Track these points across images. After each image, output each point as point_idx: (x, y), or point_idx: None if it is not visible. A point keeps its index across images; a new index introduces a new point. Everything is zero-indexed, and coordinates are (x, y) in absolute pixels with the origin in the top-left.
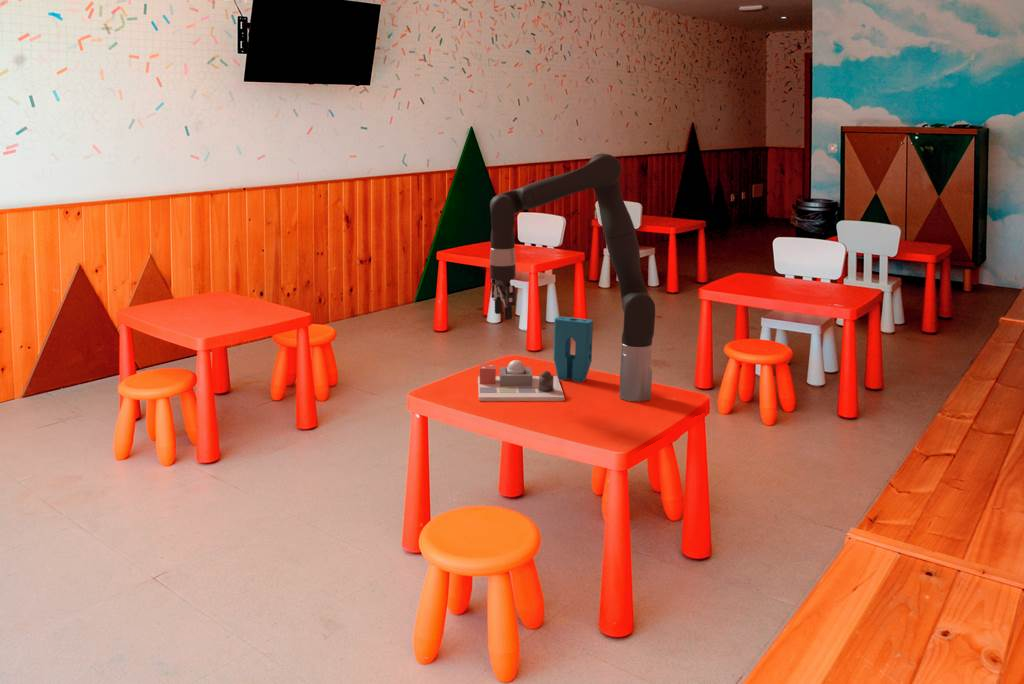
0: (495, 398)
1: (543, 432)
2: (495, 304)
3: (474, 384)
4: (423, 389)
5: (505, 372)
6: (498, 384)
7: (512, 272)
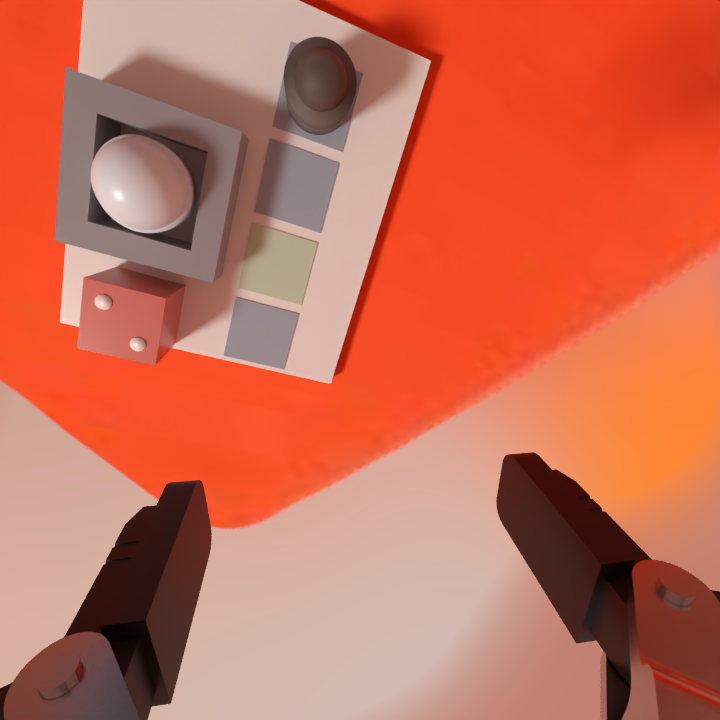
0: (345, 331)
1: (650, 282)
2: (181, 658)
3: None
4: None
5: (163, 245)
6: None
7: None
